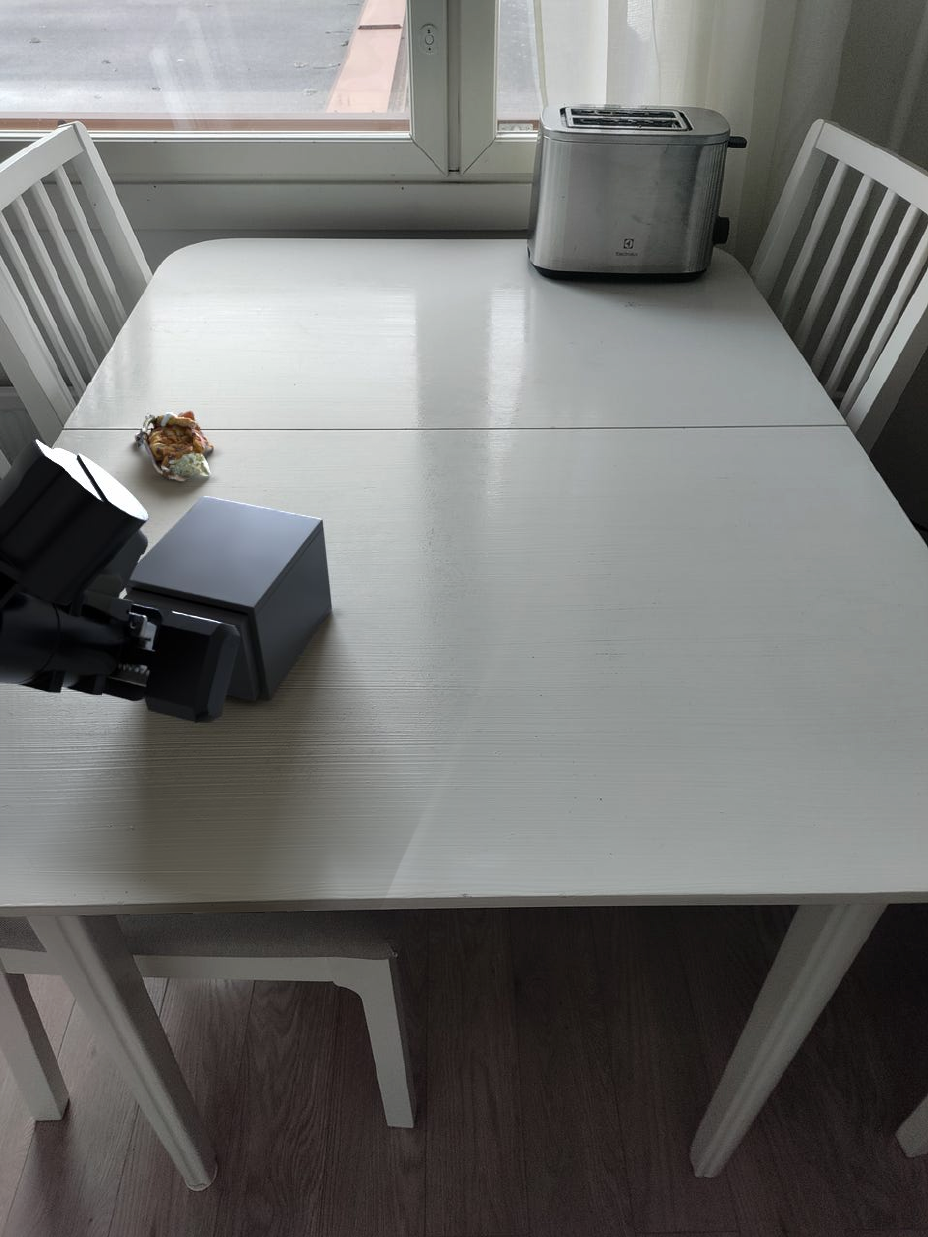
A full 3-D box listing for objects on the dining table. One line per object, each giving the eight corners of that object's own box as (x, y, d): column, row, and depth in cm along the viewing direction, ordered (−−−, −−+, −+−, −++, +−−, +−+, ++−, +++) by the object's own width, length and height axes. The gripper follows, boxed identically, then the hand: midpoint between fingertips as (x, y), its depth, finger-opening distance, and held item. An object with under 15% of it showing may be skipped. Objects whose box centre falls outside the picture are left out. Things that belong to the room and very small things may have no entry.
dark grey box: (270, 700, 75) (253, 608, 69) (147, 670, 77) (121, 578, 71) (332, 608, 83) (323, 518, 77) (220, 584, 86) (203, 495, 80)
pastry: (167, 489, 98) (160, 458, 95) (131, 438, 105) (124, 409, 103) (232, 470, 100) (227, 440, 98) (193, 422, 108) (187, 393, 106)
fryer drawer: (247, 712, 72) (231, 636, 68) (135, 684, 75) (112, 608, 70) (314, 615, 81) (305, 541, 76) (212, 592, 84) (197, 519, 79)
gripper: (198, 521, 51) (305, 568, 67) (-88, 463, 56) (74, 520, 71) (148, 724, 51) (267, 725, 66) (-138, 651, 55) (36, 667, 70)
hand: (158, 653), depth 68 cm, fingers closed
